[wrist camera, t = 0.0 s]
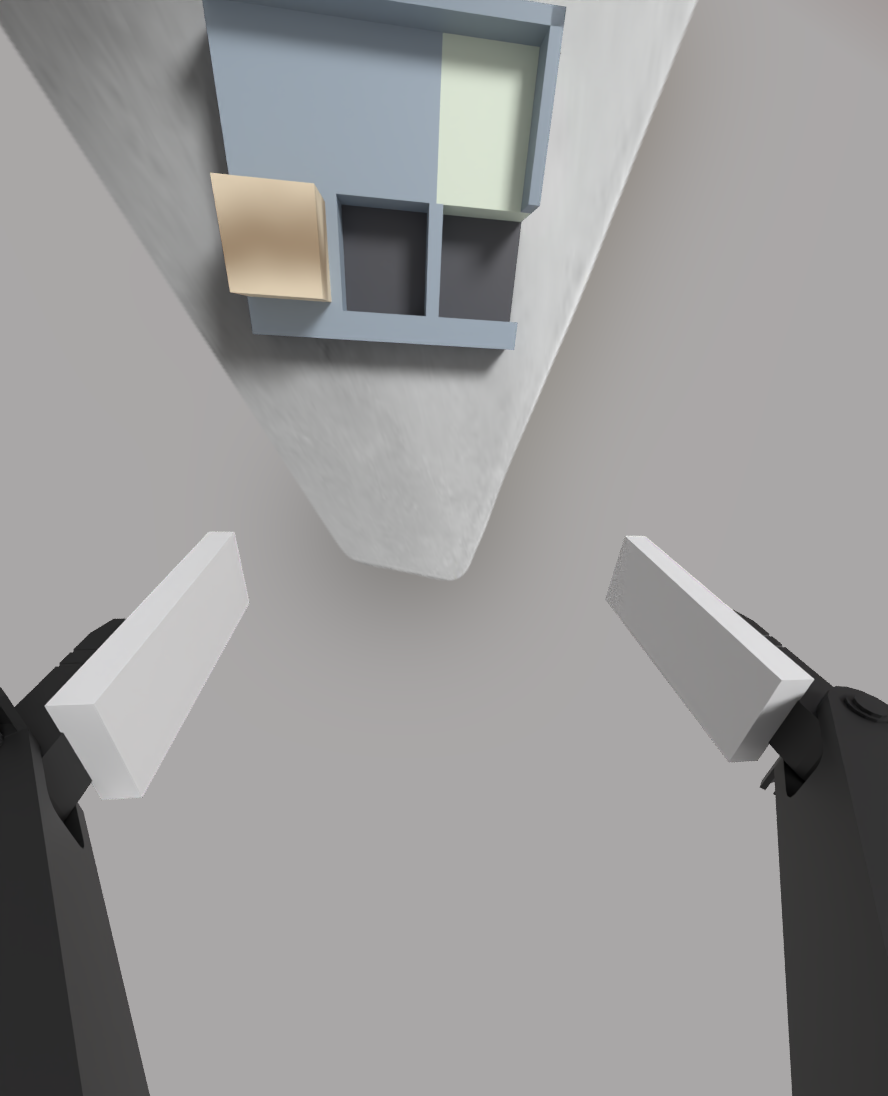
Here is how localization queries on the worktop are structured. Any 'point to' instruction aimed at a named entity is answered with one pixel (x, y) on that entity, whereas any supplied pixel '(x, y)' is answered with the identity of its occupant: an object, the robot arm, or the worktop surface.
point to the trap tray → (395, 151)
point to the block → (273, 237)
